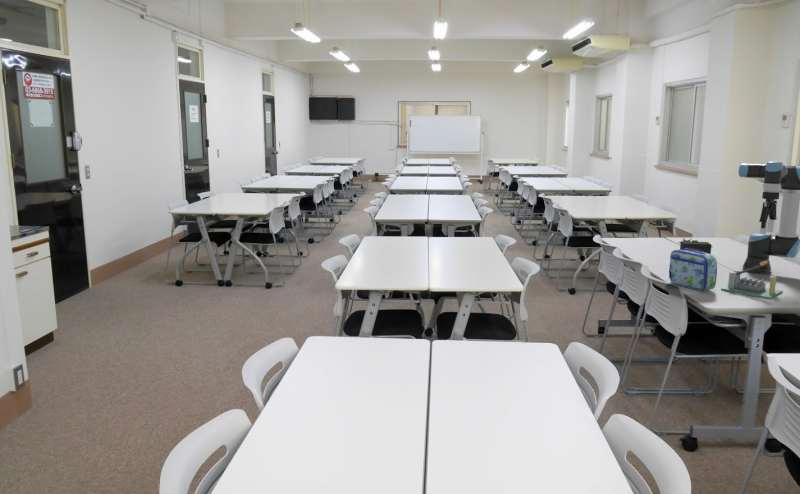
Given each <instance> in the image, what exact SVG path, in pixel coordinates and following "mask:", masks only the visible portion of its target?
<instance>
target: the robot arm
mask: <svg viewBox="0 0 800 494" xmlns="http://www.w3.org/2000/svg"><path fill="white" fill-rule="evenodd" d="M738 176H739V177H740V178H747V179H748V178H749V179H754V180H757V181H758V182H760V183H763V184H762V187H763V189H762V190H763V192H762V196H761V198H762V199H763V200H765V201H764V202H762V207H761V214H760V218H759V223H760V229H759V233H751V235H749V238H748V243H747V244H748V245H747V254H746V255H747V256H746V259H745V261H744V263H743V265H742V271H744V270H747V269H750V268H753V267H755V266H758V265H760V263H761V262H763V261H766V260H767V261H768V265H765V266H762V267H759V268H756V269H753V270H751V271H748V272H749V273H754V274H755V273H756V274H770V273H771V272H772V267H771V262H770V256H773V257H778V258H780V257H781V258H786V259H789V258H790V259H794V258H796V257H797V256H798V254H799V252H800V238H799V236H800V235H799V234H798V233H797V227H798V219H799V218H798V217H799V209H800V165H784V163H783V162H782V161H767V162H766V163H741V164H740V165H739V167H738ZM780 191H782V201H781V208H780V209H781V210H780V217H779V218H780V219H779V229H778V232H776V233H775V236H773V234H772V233H774V228H775V221H776V220H777V219H778V218H777V204H778V203H777V202H778V201H777V200H779V199H780ZM769 232H770V233H769Z"/></svg>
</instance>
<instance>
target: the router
mask: <svg viewBox="0 0 800 494" xmlns="http://www.w3.org/2000/svg"><path fill="white" fill-rule="evenodd" d="M680 242H681V244H680V243H679V244H680V247H679V250H682V249H684V248H688V249H690V250H695V251H700V252H705V253H708V254H711V253H712V248H713V245H712V244H711V243H710V242H709V241H699V240H697V239H694V240H693V239H691V240H690V241H683V240H681V241H680ZM711 255H712V254H711Z"/></svg>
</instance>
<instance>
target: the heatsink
mask: <svg viewBox="0 0 800 494" xmlns="http://www.w3.org/2000/svg"><path fill="white" fill-rule="evenodd" d="M764 281H765V279H761V280H760V279H759V278H755V279H753V277H750V278H748V277H747V276H744V277H742V278H740V279H739V282H738V283H737V286H736V289H738V290H744V291H749V292H755V293H760V292H762V291H764V290H765V288H767V287H766V285H767V283H765V282H764Z"/></svg>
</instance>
